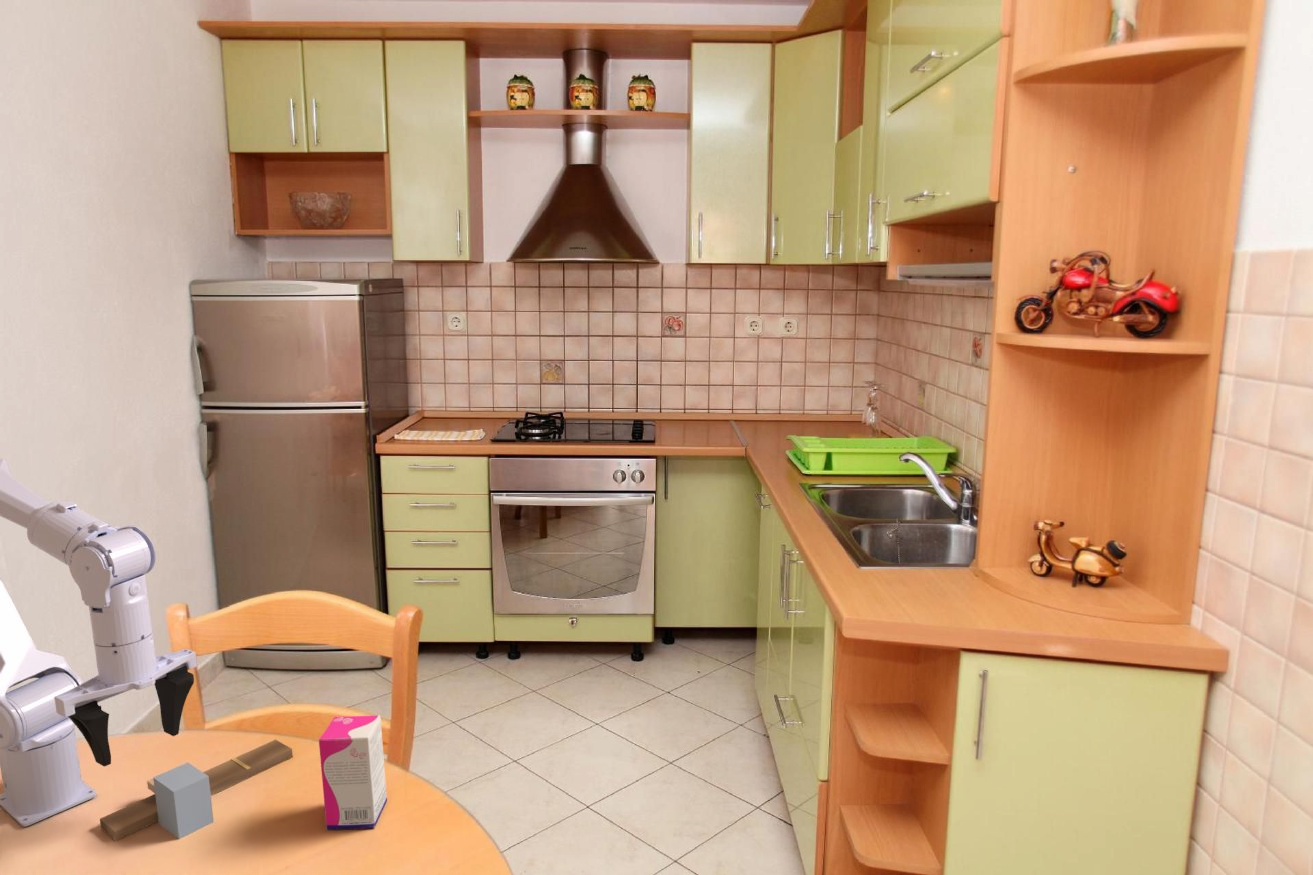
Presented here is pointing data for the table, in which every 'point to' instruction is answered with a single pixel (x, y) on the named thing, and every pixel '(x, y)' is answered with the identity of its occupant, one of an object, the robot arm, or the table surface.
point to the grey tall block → (182, 799)
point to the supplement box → (353, 772)
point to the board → (219, 780)
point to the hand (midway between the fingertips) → (138, 747)
